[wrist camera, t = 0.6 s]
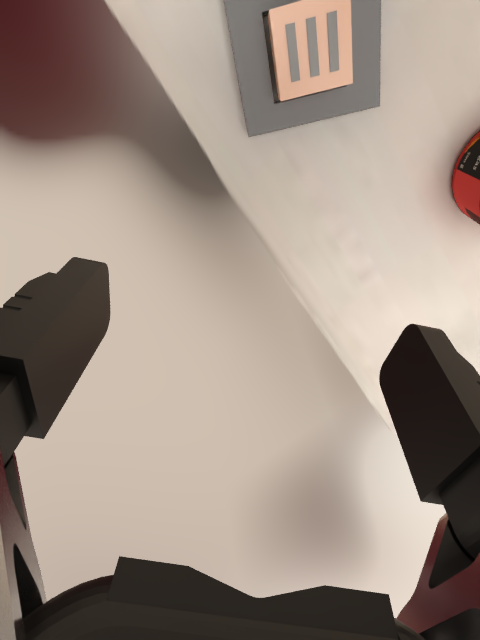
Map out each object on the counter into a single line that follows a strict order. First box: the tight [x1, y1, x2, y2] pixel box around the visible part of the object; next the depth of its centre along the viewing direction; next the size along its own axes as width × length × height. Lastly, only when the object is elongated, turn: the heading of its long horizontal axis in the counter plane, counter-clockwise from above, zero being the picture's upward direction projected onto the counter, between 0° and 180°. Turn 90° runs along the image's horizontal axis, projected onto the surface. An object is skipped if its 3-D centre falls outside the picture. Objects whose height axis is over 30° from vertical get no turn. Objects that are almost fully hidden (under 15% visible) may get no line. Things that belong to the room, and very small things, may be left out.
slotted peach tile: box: [267, 0, 353, 101], centre depth 21 cm, size 4×4×4 cm
